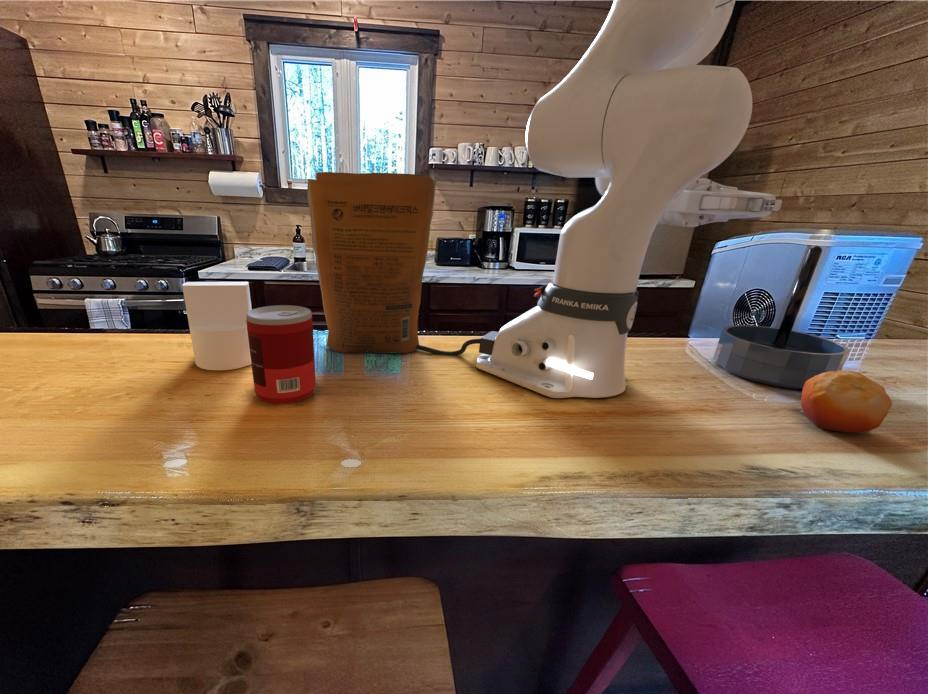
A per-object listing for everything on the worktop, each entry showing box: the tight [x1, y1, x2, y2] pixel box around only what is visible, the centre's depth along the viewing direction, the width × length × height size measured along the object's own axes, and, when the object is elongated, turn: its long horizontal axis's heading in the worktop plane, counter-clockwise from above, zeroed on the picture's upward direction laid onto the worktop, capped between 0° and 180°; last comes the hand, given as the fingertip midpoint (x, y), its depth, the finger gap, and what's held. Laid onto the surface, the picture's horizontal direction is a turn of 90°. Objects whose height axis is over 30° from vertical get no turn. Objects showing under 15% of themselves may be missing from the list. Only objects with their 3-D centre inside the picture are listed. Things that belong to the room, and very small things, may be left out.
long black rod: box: [772, 245, 823, 349], centre depth 69 cm, size 5×5×20 cm
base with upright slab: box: [181, 281, 253, 371], centre depth 66 cm, size 9×9×12 cm
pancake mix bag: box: [306, 171, 437, 355], centre depth 70 cm, size 7×19×28 cm, turn 93°
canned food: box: [246, 304, 317, 405], centre depth 56 cm, size 8×8×11 cm
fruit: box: [800, 370, 893, 434], centre depth 54 cm, size 8×8×8 cm
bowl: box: [712, 324, 850, 390], centre depth 72 cm, size 16×16×6 cm
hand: (755, 204), depth 74 cm, fingers open, 8 cm apart
